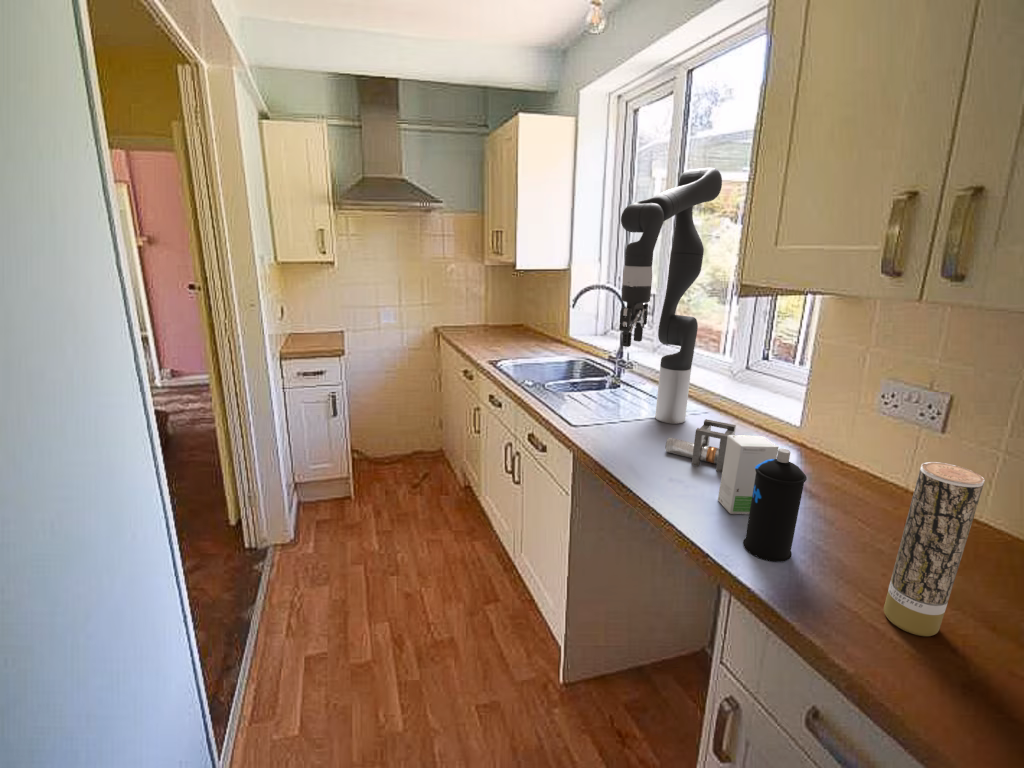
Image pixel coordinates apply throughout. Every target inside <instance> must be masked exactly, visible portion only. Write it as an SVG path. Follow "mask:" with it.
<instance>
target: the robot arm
mask: <svg viewBox="0 0 1024 768" xmlns="http://www.w3.org/2000/svg"><path fill="white" fill-rule="evenodd" d="M722 185H723V177H722V174H721V172H720V170H719V169H717V168H714V167H703V168H702V167H701V168H695V169H694V168H693V169H687V170H684V171H683V172H682V173H681V175H680V178H679V180H678V184H677V186H676V187H673V188H669V189H666V190H664V191H661V192H659V193H657V194H655V195H654V196H652V197H649V198H646V199H642V200H638V201H635V202H632V203H631V204H630V203H629V204H628V205H627V206H626V207H625V208H624V210H623V211H622V213H621V215H620V216H621V217H620V223H621V225H622V228H623V229H624V231H627V232H628V233H642V234H641V237H640V238H639V240H637V241H633V242H630V243H628V244H627V245H626V248H625V258H624V267H623V268H624V269H623V274H622V285H621V297H620V299H621V301H622V302H624V303H626V306H625V307H621V310H620V316H619V317H620V318H619V327H618V329H619V332H622V338H621V339H622V340H621V346H622V347H626V348H629V347H631V346H632V331H633V342H641V341H643V332H644V328H645V325H647V324H648V311H649V302H651V295H652V294H651V292H652V284H653V283H652V282H653V262H654V251H655V247H656V244H657V241H658V238H659V235H660V232H661V230H662V228H663V224H664V222H665V221H668V220H669V219H671V218H672V217H674V216H675V223H674V232H673V239H672V245H671V246H672V247H671V250H670V251H671V252H670V258H669V264H668V265H669V267H668V274H667V283H666V290H665V296H664V301H663V306H662V310H661V314H660V318H659V325H658V332H657V339H658V341H659V342H660V343H661V344H663V345H669V346H676V347H677V346H678V347H680V349H679V351H678V352H675V353H671V354H666V355H663V356H662V357H661V358H660V366H659V376H658V386H657V396H656V407H655V419H656V420H657V421H659V422H662V423H665V424H671V425H673V424H675V425H676V424H677V425H678V424H683V423H685V421H686V417H687V408H688V401H689V390H690V384H691V383H690V382H691V374H692V373H691V372H692V366H693V365H692V364H693V359H694V353H695V347H696V340H697V335H698V327H699V324H698V323H699V322H698V320H697V318H696V317H695V316H690V315H681V314H680V315H679V314H676V312H677V307H678V305H679V302H680V301H681V299H682V297H684V294H686V292H687V291H688V290H689V289H690V287H692V285H693V283H694V282H696V280H697V278H698V277H699V275H700V274H701V271H702V266H703V258H704V250H705V249H704V244H703V241H702V239H701V237H700V235H699V233H698V231H697V228H696V226H695V223H694V218H693V209H694V206H697V205H700V204H704V203H708V202H711V201H714V200H715V199H717V198H718V196H719V195H720V193H721V190H722ZM633 329H634V330H633Z"/></svg>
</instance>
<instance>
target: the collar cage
mask: <svg viewBox="0 0 1024 768" xmlns="http://www.w3.org/2000/svg"><path fill="white" fill-rule="evenodd" d="M712 427H715V428H719V429H724V430H726V431H725V432H718V431H713V430H711V429H712ZM736 428H737V425H736V424H732V423H728V422H727V423H726V422H723V421H717V420H712V419H705V418H704V420H703V425H702V426H701V427H700V428H699V427H697V428H696V429H695V435H694V442H693V443H694V449H693V457H692V458H691V466H696V467H699V466H700V464H701V460H700V457H701V450H702V445H706V446H710V445H709V444H710V438H714V439H719V445H718V446H719V447H718V448H719V453H718V460H717V464H716V467H715V471H716V472H719V473H722V471H723V464H724V458H725V452H726V445H727V436H728V435H735V434H736Z"/></svg>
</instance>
